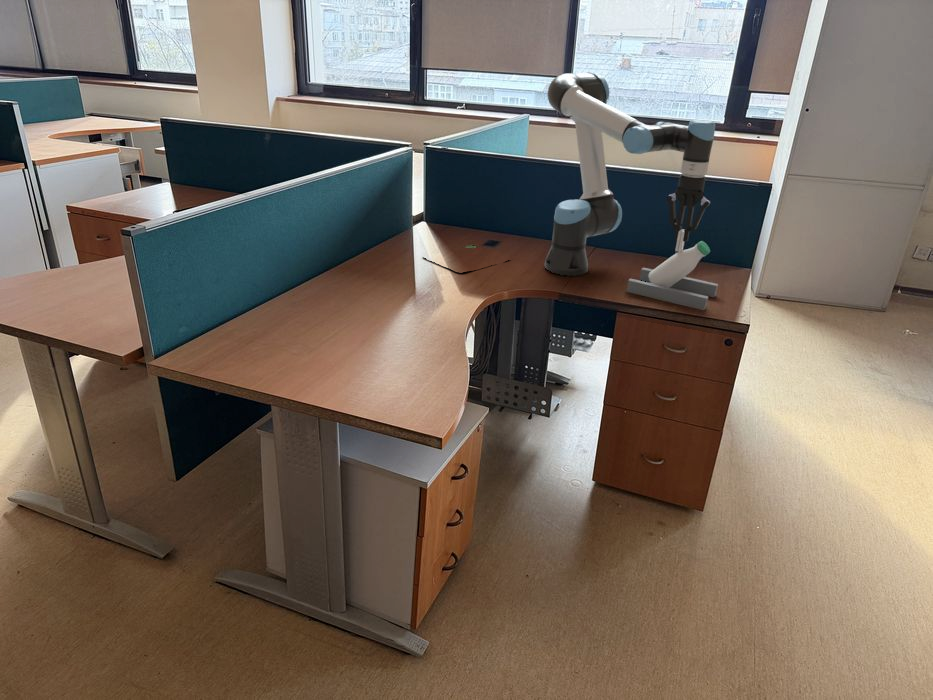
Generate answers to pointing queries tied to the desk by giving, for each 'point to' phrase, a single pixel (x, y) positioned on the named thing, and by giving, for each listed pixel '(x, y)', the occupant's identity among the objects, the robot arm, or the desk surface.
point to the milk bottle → (678, 265)
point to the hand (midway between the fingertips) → (679, 250)
